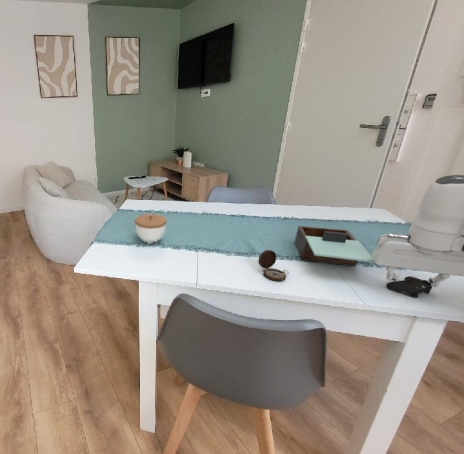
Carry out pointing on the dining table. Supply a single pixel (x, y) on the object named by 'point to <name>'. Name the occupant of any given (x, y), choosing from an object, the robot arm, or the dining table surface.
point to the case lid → (338, 247)
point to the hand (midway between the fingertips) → (411, 282)
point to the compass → (266, 262)
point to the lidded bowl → (150, 227)
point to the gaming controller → (410, 286)
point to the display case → (307, 252)
